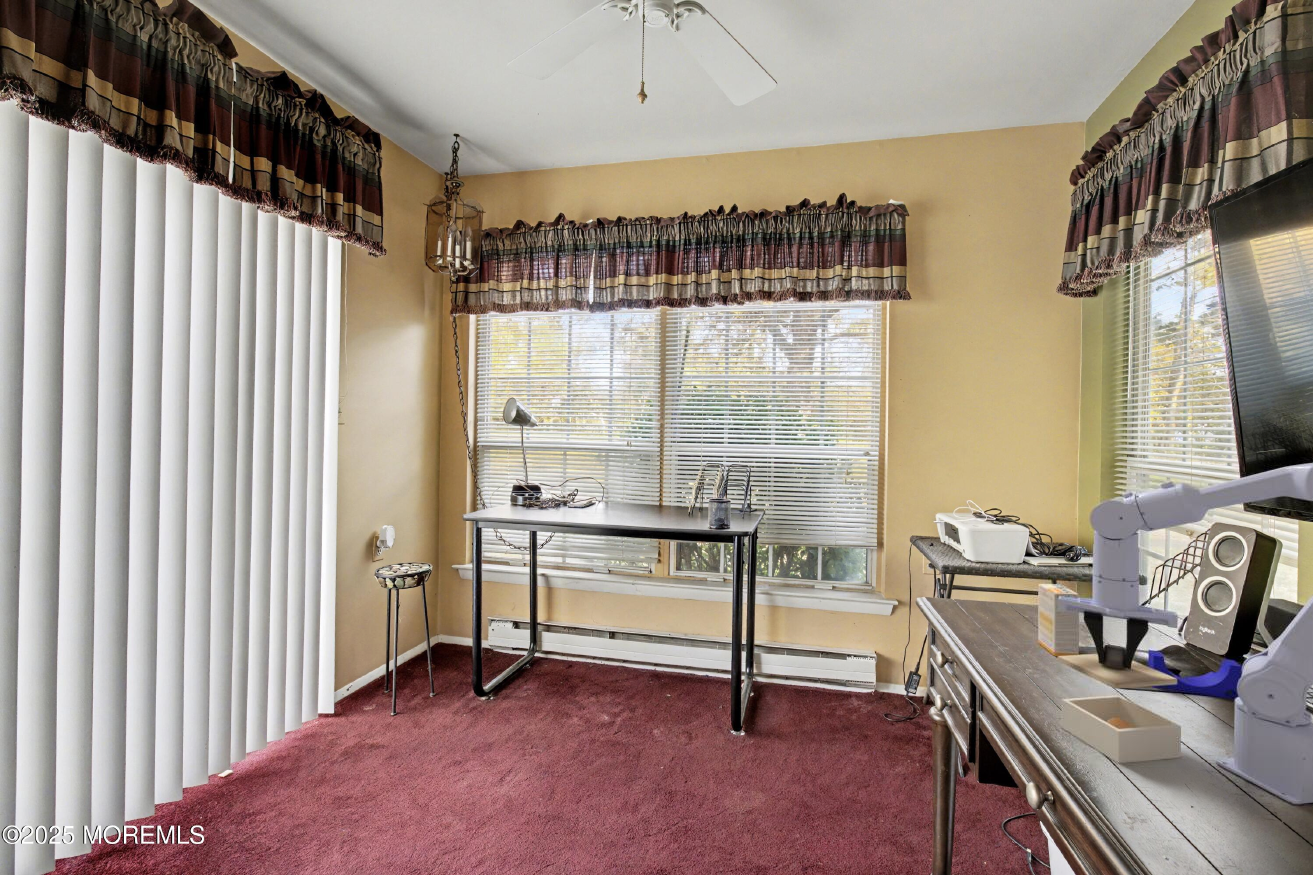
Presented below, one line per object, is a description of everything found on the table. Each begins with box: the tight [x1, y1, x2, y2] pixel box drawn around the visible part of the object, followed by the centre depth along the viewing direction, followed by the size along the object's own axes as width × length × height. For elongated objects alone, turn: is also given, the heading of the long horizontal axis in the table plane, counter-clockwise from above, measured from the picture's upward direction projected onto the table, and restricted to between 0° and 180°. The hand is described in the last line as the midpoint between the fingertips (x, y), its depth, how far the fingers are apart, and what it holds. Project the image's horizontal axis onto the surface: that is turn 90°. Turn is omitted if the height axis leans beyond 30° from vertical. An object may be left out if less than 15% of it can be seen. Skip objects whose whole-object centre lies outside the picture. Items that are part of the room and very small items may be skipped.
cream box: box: [1060, 694, 1182, 764], centre depth 90 cm, size 10×10×4 cm
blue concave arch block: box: [1147, 649, 1242, 700], centre depth 108 cm, size 12×4×6 cm, turn 64°
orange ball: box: [1107, 718, 1130, 729], centre depth 90 cm, size 3×3×3 cm
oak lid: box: [1056, 644, 1177, 689], centre depth 93 cm, size 10×10×4 cm
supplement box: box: [1037, 583, 1080, 657], centre depth 126 cm, size 8×5×13 cm, turn 168°
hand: (1114, 663), depth 93 cm, fingers closed on oak lid, 3 cm apart
